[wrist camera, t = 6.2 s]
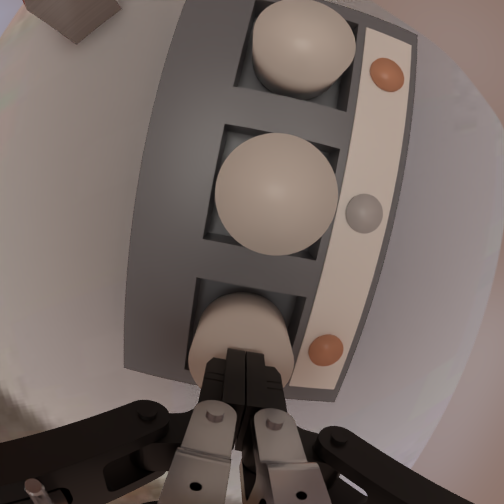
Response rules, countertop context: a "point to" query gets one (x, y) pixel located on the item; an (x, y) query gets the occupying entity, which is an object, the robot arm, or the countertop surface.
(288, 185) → the middle button
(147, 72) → the countertop surface
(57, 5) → the grey carton box
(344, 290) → the button board
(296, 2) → the button
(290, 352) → the button
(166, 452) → the robot arm
